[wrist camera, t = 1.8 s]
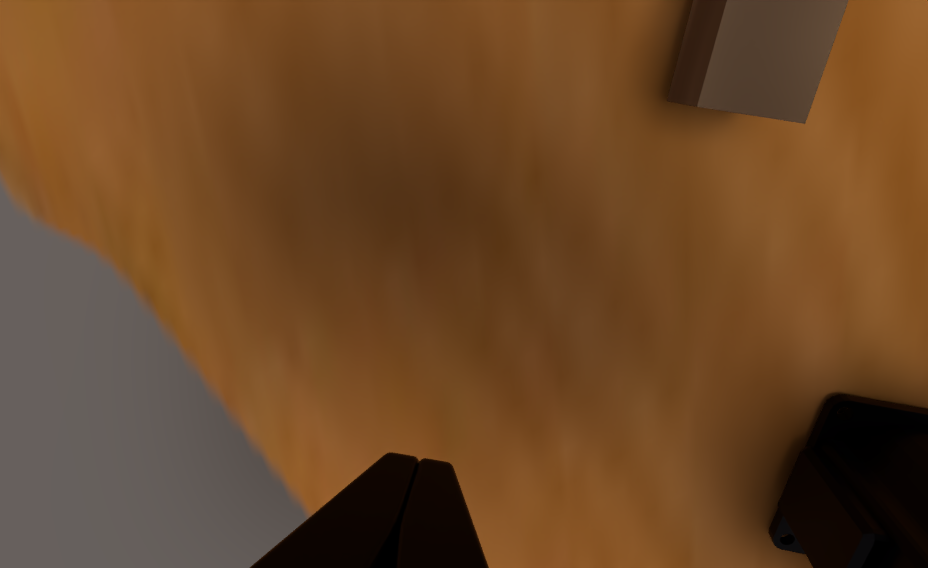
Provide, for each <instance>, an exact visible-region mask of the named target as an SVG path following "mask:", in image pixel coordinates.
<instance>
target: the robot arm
mask: <svg viewBox="0 0 928 568" xmlns="http://www.w3.org/2000/svg"><path fill="white" fill-rule="evenodd" d="M843 407H847V409H846V410H845V411H844V412H842V413H837V412H838V411H839V409H841V408H843ZM778 507H779V508H778V510H777V512H776V515H775V517H774V519H773V522H772V524H771V526H770V528H769V535H770V537H771V539H772V541H773V543H774V545H775V546H776V547H777V548H779V549H782V550H787V551H792V552H797V553H802V554H806V556H807V557H808V559H809V561H810V563H811V564H812V566H813V568H928V409H923V408H917V407H911V406H906V405H900V404H895V403H889V402H884V401H878V400H873V399H867V398H862V397H856V396H850V395H845V394H838V395H835V396H832V397H831V398H829V399H828V400H827V401H826V402H825V404H824V406H823V408H822V410H821V412H820V415H819V417H818V419H817V422H816V424H815V426H814V428H813V431H812V433H811V435H810V437H809V440H808V442H807V444H806V447H805V448H804V449H803V450H802V451H801V452H800V455H799V457H798V459H797V462H796V464H795V466H794V468H793V471H792V473H791V475H790V478H789V480H788V482H787V484H786V487H785V489H784V491H783V494H782V496H781V498H780V500H779V503H778ZM785 534H788V535H787V536H784V537H782V536H783V535H785ZM250 568H489V567H488V564H487V561H486V559H485V556H484V553H483V550H482V547H481V544H480V542H479V539H478V536H477V533H476V530H475V527H474V525H473V522H472V519H471V516H470V513H469V510H468V508H467V505H466V502H465V499H464V496H463V493H462V490H461V488H460V485H459V482H458V479H457V476H456V473H455V471H454V468H453V466H452V464H450V463H448V462H444V461H438V460H433V459H427V458H424V459H422V460H421V461H420V462H419V461H418V459H417V458H416V457H415V456H410V455H404V454H398V453H390V452H389V453H387V454H385V455H384V456H383V457H381V458H380V459H379V460H378V461H377V462H375V463H374V464H373V465H372V466H371V467H369V468H368V469H367V470H366V471H365V472H363V473H362V474H361V475H360V476H359V477H357V478H356V479H355V480H354V481H353V482H351V483H350V484H349V485H348V486H347V487H345V488H344V489H343V490H342V491H341V492H339V493H338V494H337V495H336V496H335V497H333V498H332V499H331V500H330V501H329V502H328V503H326V504H325V505H324V506H323V507H322V508H320V509H319V510H318V511H317V512H316V513H314V514H313V515H312V516H311V517H310V518H308V519H307V520H306V521H305V522H304V523H302V524H301V525H300V526H299V527H298V528H296V529H295V530H294V531H293V532H292V533H290V534H289V535H288V536H287V537H286V538H284V540H282V541H281V542H280V543H279V544H277V545H276V546H275V547H274V548H273V549H271V550H270V551H269V552H268V553H267V554H266V555H264V556H263V557H262V558H261V559H259V560H258V561H257V562H256V563H255V564H254V565H252V566H251V567H250Z"/></svg>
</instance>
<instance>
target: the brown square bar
mask: <svg viewBox="0 0 928 568" xmlns="http://www.w3.org/2000/svg"><path fill="white" fill-rule="evenodd" d="M847 3H848V0H693V3H692V7H691V11H690V15H689V18H688V22H687V26H686V30H685V34H684V37H683V41H682V45H681V49H680V53H679V56H678V60H677V64H676V68H675V72H674V75H673V79H672V83H671V87H670V91H669V94H668V98H667V101H669V102H674V103H680V104H685V105H690V106H696V107H702V108H708V109H715V110H721V111H727V112H734V113H740V114H746V115H753V116H759V117H765V118H772V119H778V120H784V121H791V122H797V123H804V124H805V122H806V119H807V117H808V114H809V111H810V108H811V105H812V102H813V100H814V97H815V94H816V91H817V88H818V85H819V83H820V80H821V77H822V74H823V71H824V68H825V65H826V63H827V60H828V57H829V54H830V51H831V48H832V46H833V43H834V40H835V37H836V34H837V31H838V29H839V26H840V23H841V20H842V17H843V14H844V12H845V9H846V6H847Z"/></svg>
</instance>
